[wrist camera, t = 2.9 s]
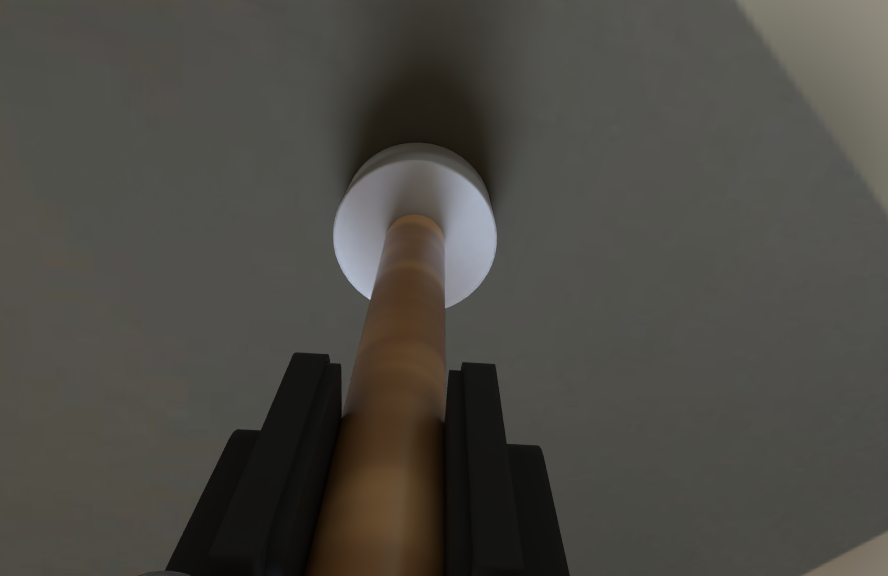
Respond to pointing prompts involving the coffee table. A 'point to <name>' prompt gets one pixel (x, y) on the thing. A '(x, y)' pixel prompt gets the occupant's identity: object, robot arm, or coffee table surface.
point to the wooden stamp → (400, 358)
